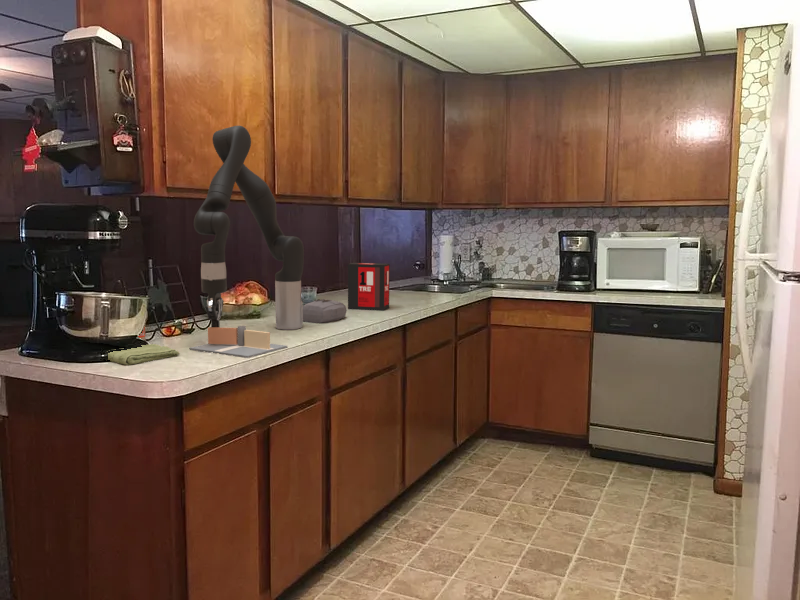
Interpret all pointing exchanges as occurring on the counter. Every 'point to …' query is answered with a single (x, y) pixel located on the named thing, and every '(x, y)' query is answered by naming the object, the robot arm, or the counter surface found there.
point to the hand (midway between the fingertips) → (215, 331)
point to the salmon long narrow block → (222, 335)
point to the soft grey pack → (323, 311)
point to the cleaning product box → (368, 286)
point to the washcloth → (141, 354)
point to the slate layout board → (244, 344)
